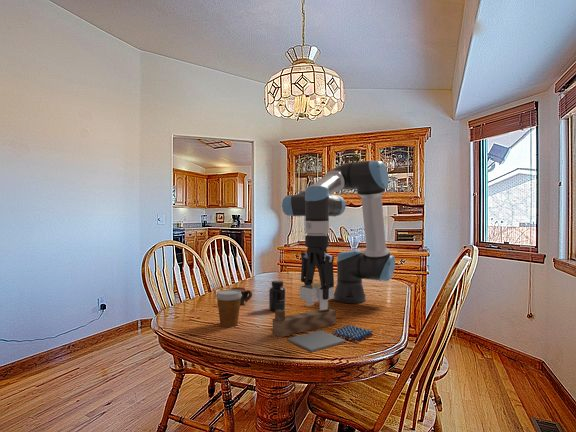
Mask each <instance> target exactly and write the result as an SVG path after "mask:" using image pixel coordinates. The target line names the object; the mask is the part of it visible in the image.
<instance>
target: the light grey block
mask: <svg viewBox="0 0 576 432" xmlns="http://www.w3.org/2000/svg"><path fill="white" fill-rule="evenodd" d="M320 288H322V287H321V282H320V281H317V282H316V281H315V282H313V283H312V284H311V285H305V284H304V285H300V286H299V299H300V300H303V301H305V302H306V301H309V302H314V303H316V302H317V303H318V302H320ZM334 293H335V289H334V287H332V288H329V299H328V300H332V299H333V297H334ZM333 300H334V299H333Z"/></svg>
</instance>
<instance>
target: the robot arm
mask: <svg viewBox="0 0 576 432" xmlns="http://www.w3.org/2000/svg"><path fill="white" fill-rule="evenodd" d="M386 166H387V165H385V163H384V162H383V161H380V160H364V161H357V162H356V161H355V162H347V163H344V164H341V165H339V166H337V167H334V168H332V169H331V170H329V171H327V172H326V173H325V175H324V177H323V178H321V179H319V180H318V181H316V182H315V183H313V184H312V185H310V186H309V185H308V186H307V187H306V188H305V189H303V190H302V191H301V192H299V193H297V194H291V195H286V196H284V197H283V199H282V201H281V208H282V212H283V214H284V215H286V216H290V217H305V218H304V220H305V223H304V225H305V226H304V228H305V230H304V231H305V234H306V235H305V236H304V246H305V247H306V248H307V250H306V251H303V252H301V253H300V256H301V266H300V267H301V269H300V272H301V273H300V281H301V283H303V284H304V285H311V284H312V283H314V276H315V273H316V272H315V271H316V268H317V271H318V277H319V282H321V287H322V288H320V301H319V309H320V310H326V309H328V302H329V300H330V299H329V288H332V287H334V286H335V281H334V280H335V279H334V276H335V275H334V260H335V256H334V255H333V254H332V255H331V254H329V253H328V250H327V248H328V247H329V246H330V243H329V241H330V239H329V238H330V237H329V235H328V234H329V233H330V221H329V220H330V218H329V217H338V216H341V215H342V214H343V213H344V212H345V210H346V206H347V205H346V204H347V203H346V201H345V199H344V198H343V197H342V196H341V195H338V194H336V193H338V192H340V191H343V190H356V193H357V195H358V196H359V197H360V198H361V206H362V207H361V208H362V217H363V227H364V228H363V229H364V237H365V250H361V249H358V250H357V249H356V250H347V251H346V250H345V251H342V252H339V253H338V254H337V257H336V258H337V260H336V271H337V273H336V277H337V278H336V286H335V289H334V294H333V300H334V301H335V302H339V303H343V304H344V303H346V304H359V303H364V302H366V301H367V300H366V296H367V295H366V293H365V290H364V286H363V280H370V281H371V280H372V281H379V282H382V281H383V282H389V281H390V280H391V279H392V278H393V275H394V272H395V268H396V257H395V255H392V254H391V252H390V249H389V248H388V247H387V244H386V234H385V233H386V232H385V223H384V222H385V221H384V210H383V198H382V195H383V194H384V193H385V192H386V191H385V190H386V188H388V186H389V183H390V182H389V181H390V180H389V172H388V168H387V167H386ZM313 305H315V302H309V301H305V306H307V307H308V306H309V307H310V306H313Z"/></svg>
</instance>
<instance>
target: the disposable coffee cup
mask: <svg viewBox="0 0 576 432" xmlns="http://www.w3.org/2000/svg"><path fill="white" fill-rule="evenodd" d="M241 296H242V294H241V291H239V290H233V289H232V288H230V289H229V288H228V289H222V290H218V291H217V292H216V295H215V297H216V301H217V307H218V317H219V324H220V326H221V327H224V328H231V327H236V326H237V325H238V324H239V315H240V307H241V305H240V301H241Z"/></svg>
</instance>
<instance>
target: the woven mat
mask: <svg viewBox="0 0 576 432" xmlns="http://www.w3.org/2000/svg"><path fill="white" fill-rule="evenodd" d="M373 332H374V330H370V329H366V328H361V327H359V326H354V325H350V324H348V325H345V326H343V327H340V328H338V329H335V330H333V331H332V333H331V334H332V335H334V336H338V337H339V338H342V339H344V340H346V339H348V341H350V340H351V341H352V342H355V343H359V342H361V341H363V340H366V339H367V338H369V337H371V336H373V335H374V333H373ZM343 337H344V338H343ZM345 338H346V339H345Z"/></svg>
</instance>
